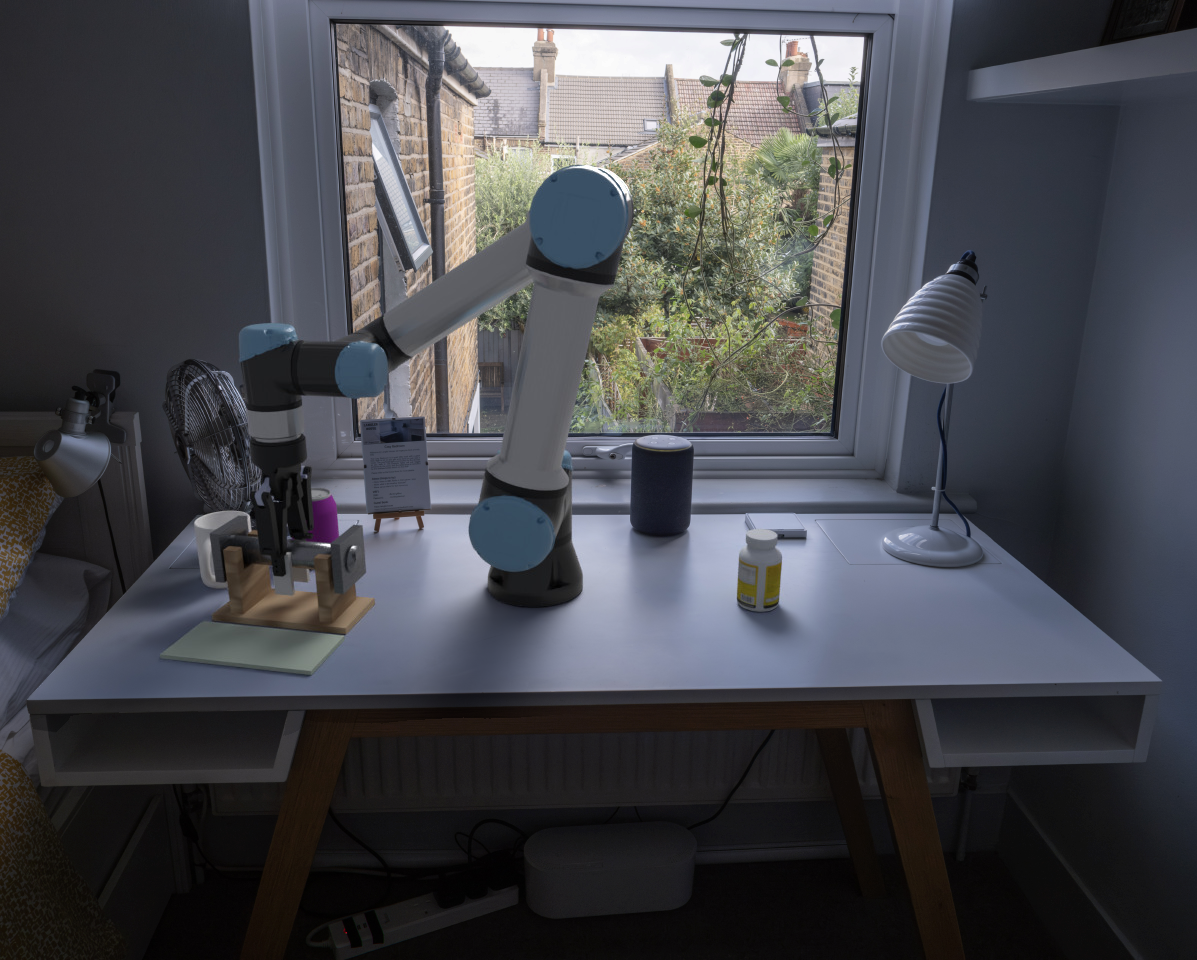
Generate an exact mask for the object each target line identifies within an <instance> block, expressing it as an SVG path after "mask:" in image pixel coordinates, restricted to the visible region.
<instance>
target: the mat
mask: <svg viewBox="0 0 1197 960" xmlns="http://www.w3.org/2000/svg"><path fill="white" fill-rule="evenodd" d="M345 640H346V637H345V635H344V634H341V635H340V634H334V633H332V634H331V633H324V632H314V631H312V632H311V631H305V630H295V629H285V628H276V627H266V626H263V627H262V626H256V625H246V624H237V623H227V622H217V621H215V622H214V621H208V620H207V621H204V620H202V621H201V622H200V623H199V624H197V625H196V626H194V627H193V628H192V629H191V630H190V631H188V632H187V633H185V634H184V635H183V636H182V637H180V638H179V639H178V640H177V641H175V642H174V643H173V644H172V645H170V646H169V647H168V648H166V649H164V651H162V652H161V653H160V654H159V658H160V659H161V660H163V659H164V660H173V661H179V662H180V661H182V662H189V663H191V662H192V663H199V664H200V663H202V664H210V665H215V666H216V665H218V666H224V667H225V666H227V667H235V668H236V667H237V668H242V669H243V668H244V669H253V670H254V669H255V670H262V671H263V670H264V671H270V672H271V671H272V672H281V673H289V674H297V675H307V676H312V675H313V674H314V673H315V672H316V671H317V670H318V669H319V668H320V667H321V665H323V663H324V662H326V661H327V660H328V658H329V657H330V656H331V655H332V654H333V653H334V652H335V651H336V649H337V648H338V647H340V646H341V645H342V644H343V642H345Z"/></svg>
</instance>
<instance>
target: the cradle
mask: <svg viewBox="0 0 1197 960" xmlns="http://www.w3.org/2000/svg"><path fill="white" fill-rule="evenodd" d="M248 536H250V537H258V533H257V529H251V532H249V533H248ZM223 553H224V561H225V568H226V576H227V584H228V588H227V590H228V600H229V601H227V602H226V603H225V604H223V605H222V606H221V607H219V608H218V609H217V610H215V611H214V612H213V613H212V614H211V617H212V618H211V619H212V622H214V621H215V622H221V623H231V624H240V625H250V626H260V627H262V626H263V627H270V628H279V629H289V630H299V631H309V632H311V631H312V632H318V633H328V634H331V633H332V634H338V635H340V634H341V635H347V634H348V633H349V632H350V631H351V630H352V629H353V628H354V627H355V626H356V625H357V623H359V622H360V620H361V619H362V618H364V617H365V615H366V614H367V613H368V612H369V611H370V610H371V609H372V608H373V607H374V606H375V605H376V600H375V599H376V598H375V597H367V596H365V597H364V596H357V590H356V589H357V588H356V583H355V584H354V585H353V586H352V587H351V588H350V589H349V590H348V591H346V592H345V593H344V594H338V593H335V592H334V581H333V569H332V558H331V555H325V554H318V555H317V556H316V557H314V567H315V570H314V575H315V576H314V577H315V587H316V592H314V591H313V592H312V591H305V590H304V591H303V590H295V594H294V595H293V596H290V595H279V594H275V588H272V583H271V573H270V566H269V565H258V564H247V563H243V555H242V547H233V546H228V547H227V548H225V549H224V550H223Z"/></svg>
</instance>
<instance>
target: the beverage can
mask: <svg viewBox="0 0 1197 960" xmlns="http://www.w3.org/2000/svg"><path fill="white" fill-rule="evenodd" d="M311 493H312V507H313V521H314V528H313V530H312V531H311V530H309V531H308V533H313V538H312V539H306V541H309V542H321V543H332V542H333V541H334V540H335V539H337V538H338V537H339V536H340V530H339V521H338V520H339V518H338V507H337V505H338V504H337V502H336V501H335V498H334V496H333V494H332V493H331V490H330V489H328V488H325V487H311ZM306 522H307V521H306ZM291 539H293V538H291Z"/></svg>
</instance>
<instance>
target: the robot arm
mask: <svg viewBox="0 0 1197 960" xmlns="http://www.w3.org/2000/svg"><path fill="white" fill-rule="evenodd" d="M633 200H634V199H633V197H632V194H631V192H630V190H629V188H628V186H627V184H626V183H625V182H624V181H623V179H621V177H619V176H618V175H617V174H616V173H614V172H613V171H611V170H609V169H606V168H604V167H600V166H594V165H585V164H581V163H579V164H572V165H568V166H564V167H562V168H559V169H558V170H556V171H555V172H553V173H551V174H550V175H549V176H548V177H546V178H545V180H544V181H542V184H540V185H539V187H538V188H537V190H536V192H535V194H534V195H533V198H532V201H531V204H530V206H529V207H530V208H529V210H528V211H527V213H526V218H525V222H522V223H521V224H520V225H519V226H517V227H516V228H514V229H512V230H511V231H509V232H507V233H506V234H504V235H503V236H501V237H500V238H499V239H496V240H495V241H494V242H493V243H491V244H489V245H488V246H486V247H485V248H483V249H482V250H480V251H478V252H477V253H476V254H474V255H472V256H471V257H469V258H468V259H466V260H465V261H463V262H462V263H460V264H459V265H456V266H455V267H454V268H452V269H451V270H449V271H448V272H446V273H445V274H443V275H441V276H440V277H438V278H437V279H435V280H433V282H432V281H431V282H430V283H429V284H428V285H426V286H425V287H423V288H422V289H420V290H418V291H417V292H415V293H414V294H412V295H411V296H409V297H408V298H406V299H404V300H403V301H401V303H399V304H397V305H395V306H394V307H393V308H390V310H388V311H386V312H385V313H384V314H382V315H380V316H378V317H377V318H375V319H374V320H372V321H371V322H369V323H368V324H366V325H364V326H363V327H361V328H360V329H358V330H356V331H354V332H353V333H350V334H348V335H345V336H343V337H341V338H338V339H336V340H333V341H331V340H330V341H328V340H326V341H325V340H324V341H321V340H319V341H317V340H316V341H315V340H311V341H310V340H303V339H298V335H297V333H296V328H295V327H294V326H293V325H291V324H287V323H283V322H282V323H280V322H279V323H278V322H275V323H274V322H269V323H268V322H267V323H258V324H257V323H255V324H250V325H247V326H244V327H243V328H241V330H240V331H239V333H238V350H239V358H238V362H239V363H240V369H241V376H242V385H243V392H244V400H245V402H244V403H245V408H246V411H245V416H246V419H247V429H248V434H249V436H251V438H250V440H249V441H248V442H249V450H250V459H251V462H252V463H251V464H253V465H254V466H256V467H257V468H259V469H260V471H261V472H260V481H259V483H260V487H259V489H258V490H251V491H250V493H249V498H250V502H251V504H252V506H253V509H254V518H255V525H256V530H257V533H258V541H259V548H260V554H261V555H268V556H271V561H272V566H271V569H272V570H271V571H272V576H273V585H274V586H273V587H274V589H275V594H279V595H290V596H293V595H294V594H295V591H296V590H295V582H296V583H297V582H298V583H309V582H310V581H311V573H310V569H303V568H292V561H291V552H287V540H297V541H306V539H312V538H313V533H308V531H309V530H311V531H312V530H313V528H314V521H313V507H312V493H311V488H312V470H313V467H312V466H310V465H309V466H307V465H302V464H304V463H305V461H307V460H308V450H307V449H308V448H307V439H306V438H307V437H306V436H305V435H304V432H305V431H306V428H305V427H306V426H305V417H304V409H303V397H302V396H306V397H307V396H308V397H311V396H312V397H326V398H327V397H329V398H347V399H353V400H359V399H361V398H362V399H363V398H365V399H366V398H377V397H379V396H380V395H382V394H383V392H384V390H385V387H386V386H387V383H388V376H389V375H388V374H390V373H391V372H393V371H395V370H396V369H397V368H398V367H400V366H401V365H403V364H405V363H406V362H408V361H410V360H411V359H412V358H414V357H416V356H417V355H418V354H420V353H421V352H423V351H424V350H426V349H428V348H429V347H431V346H433V345H434V344H436V343H438V342H439V341H441V340H442V339H444V338H446V337H447V336H449V335H450V334H452V333H454V332H455V331H457V330H458V329H460V328H461V327H463V326H465V325H467V324H468V323H469V322H471V321H473V320H474V319H476V318H478V317H480V316H481V315H483V314H484V313H486V312H487V311H489V310H490V309H492V308H494V307H496V306H497V305H499V304H500V303H502V302H504V301H505V300H507V299H509V298H510V297H511V296H513V295H515V294H517V293H518V292H520V291H521V290H522V289H524V288H526V287H527V286H529V285H530V284H532V283H533V286H532V291H531V296H530V301H529V305H528V311H527V316H526V319H525V320H526V321H525V325H524V331H523V336H522V341H521V346H520V352H519V357H518V362H517V365H516V371H515V374H514V375H515V377H514V382H513V386H512V390H511V396H510V401H509V405H508V411H507V416H506V420H505V426H504V431H503V436H502V441H501V445H500V446H501V447H500V449H499V450H498V451H497V452H496V454H495V455H494V456H493V457H491V458H489V459H488V460H487V462H486V465H485V470H484V473H483V474H484V475H483V479H482V483H481V490H480V494H479V499H478V503H477V505H476V506H475V507H474V508H473V509H472V512H471V514H470V516H469V522H468V537H469V541H470V543H471V547H472V548H473V550H474V551H475V552H476V553H477V555H478V556H479V557H480V559H482V561H484V563H487V564H488V565H489V566H490V567H489V570H488V574H487V590H488V593H489V594H490V595H491V596H492V597H493V598H494V599H496V600H497V601H500V602H503V603H505V604H508V605H512V606H518V607H526V608H528V607H529V608H537V607H538V608H539V607H541V608H543V607H548V606H555V605H560V604H563V603H566V602H568V601H571V600H572V599H575V598H577V596H579V594H581V592H582V591H583V588H584V574H583V570H582V567H581V564H580V561H579V558H578V555H577V552H576V549H575V546H574V544H573V530H572V529H573V495H572V494H573V471H574V467H573V461H572V455H571V453H570V451H568V450H566V446H567V442H568V437H569V432H570V429H571V423H572V420H573V415H574V410H575V406H576V401H577V398H578V392H579V389H580V384H581V379H582V375H583V369H584V365H585V362H586V357H587V352H588V347H589V344H590V339H591V335H592V331H593V326H594V321H595V318H596V317H595V316H596V313H597V309H598V304H599V299H600V297H601V296H602V294H604V293H605V292H607V291H608V290H610V289H612V288H613V287H614V286H615V284H616V283H615V281H616V278H617V274H618V269H619V265H620V260H621V256H622V252H623V248H624V244H625V239H626V238H627V237H628V235H629V233H630V231H631V228H632V226H633V223H634V219H635V218H634V217H635V206H634V205H635V204H634V201H633ZM306 521H307V522H306ZM288 533H289V536H290V538H291V539H288ZM292 538H293V539H292Z"/></svg>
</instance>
